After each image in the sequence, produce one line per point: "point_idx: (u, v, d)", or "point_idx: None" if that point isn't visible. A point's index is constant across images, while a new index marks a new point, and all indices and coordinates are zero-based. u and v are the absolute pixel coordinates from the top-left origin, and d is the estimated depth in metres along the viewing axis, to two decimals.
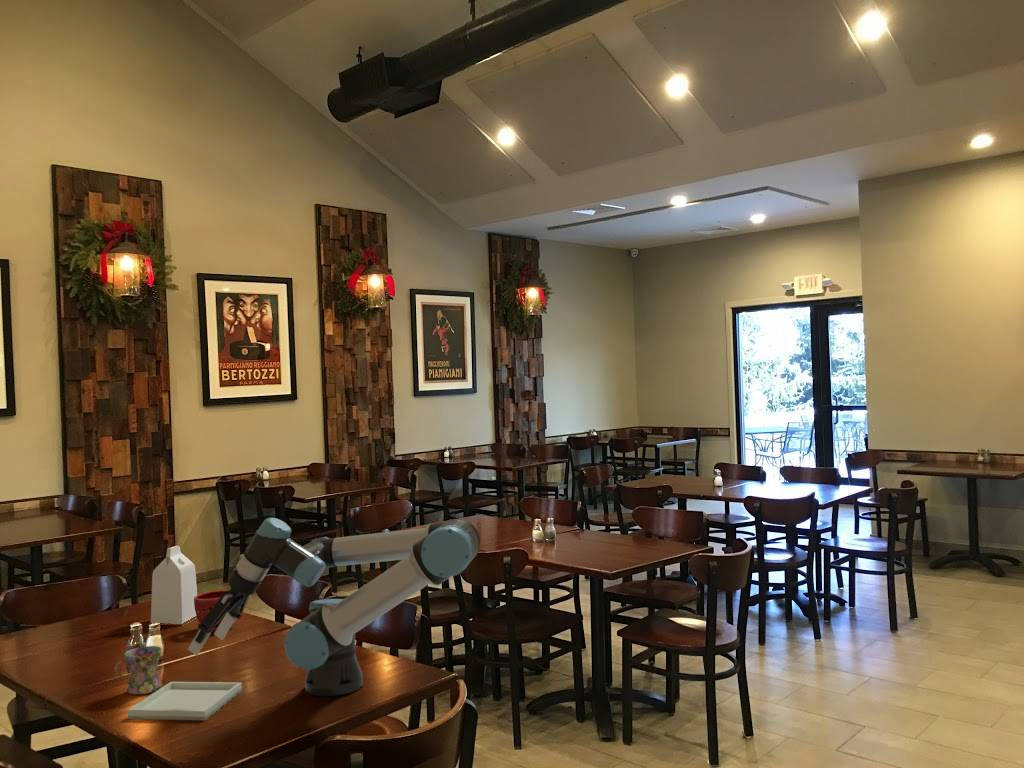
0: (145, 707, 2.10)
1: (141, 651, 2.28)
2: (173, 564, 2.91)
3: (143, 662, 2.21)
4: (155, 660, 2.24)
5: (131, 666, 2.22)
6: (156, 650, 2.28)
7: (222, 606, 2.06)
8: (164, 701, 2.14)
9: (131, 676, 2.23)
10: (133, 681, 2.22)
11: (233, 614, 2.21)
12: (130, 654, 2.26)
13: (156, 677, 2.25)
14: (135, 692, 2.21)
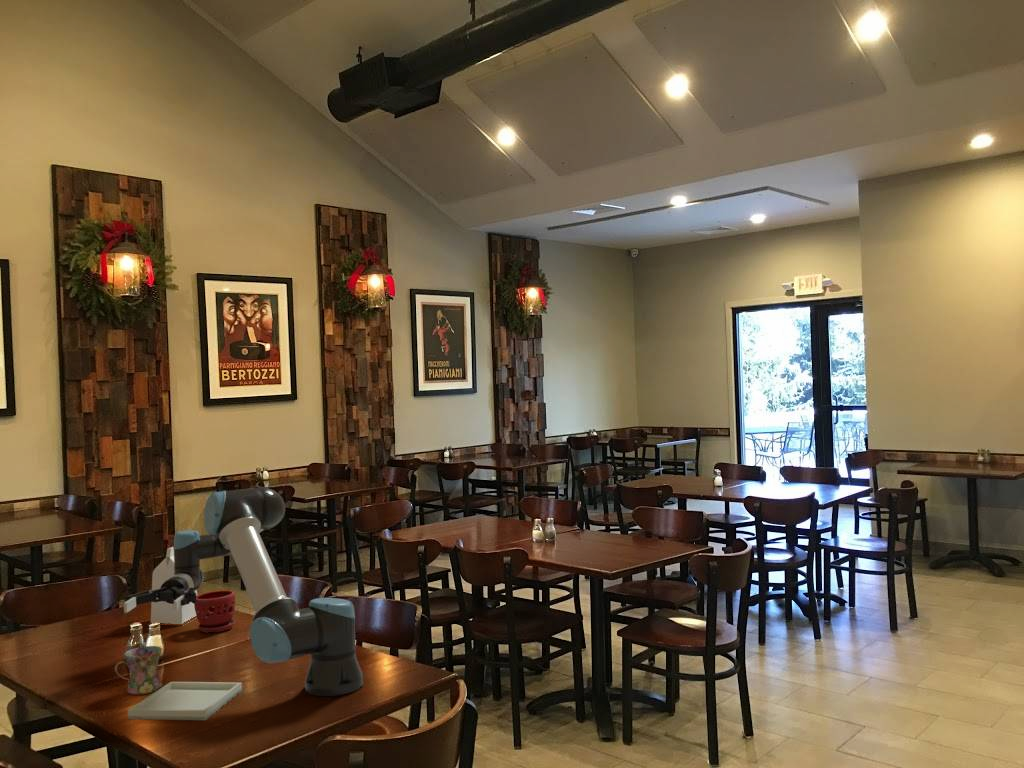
0: (145, 707, 2.10)
1: (142, 651, 2.28)
2: (173, 564, 2.91)
3: (143, 662, 2.21)
4: (155, 660, 2.24)
5: (131, 666, 2.22)
6: (156, 650, 2.28)
7: None
8: (164, 701, 2.14)
9: (131, 676, 2.23)
10: (133, 681, 2.22)
11: None
12: (130, 654, 2.26)
13: (156, 677, 2.25)
14: (135, 692, 2.21)
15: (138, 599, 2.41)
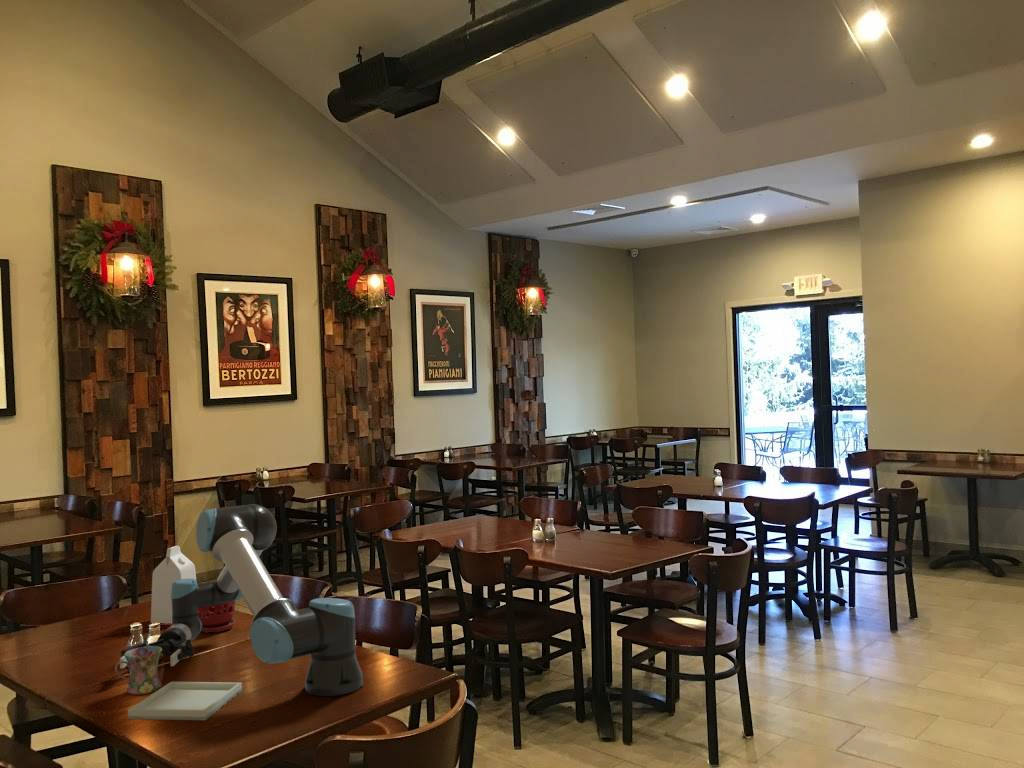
0: (145, 707, 2.10)
1: (141, 651, 2.28)
2: (173, 564, 2.91)
3: (143, 662, 2.21)
4: (155, 660, 2.24)
5: (131, 666, 2.22)
6: (156, 650, 2.28)
7: None
8: (164, 701, 2.14)
9: (131, 676, 2.23)
10: (133, 681, 2.22)
11: None
12: (130, 654, 2.26)
13: (156, 677, 2.25)
14: (135, 692, 2.21)
15: None
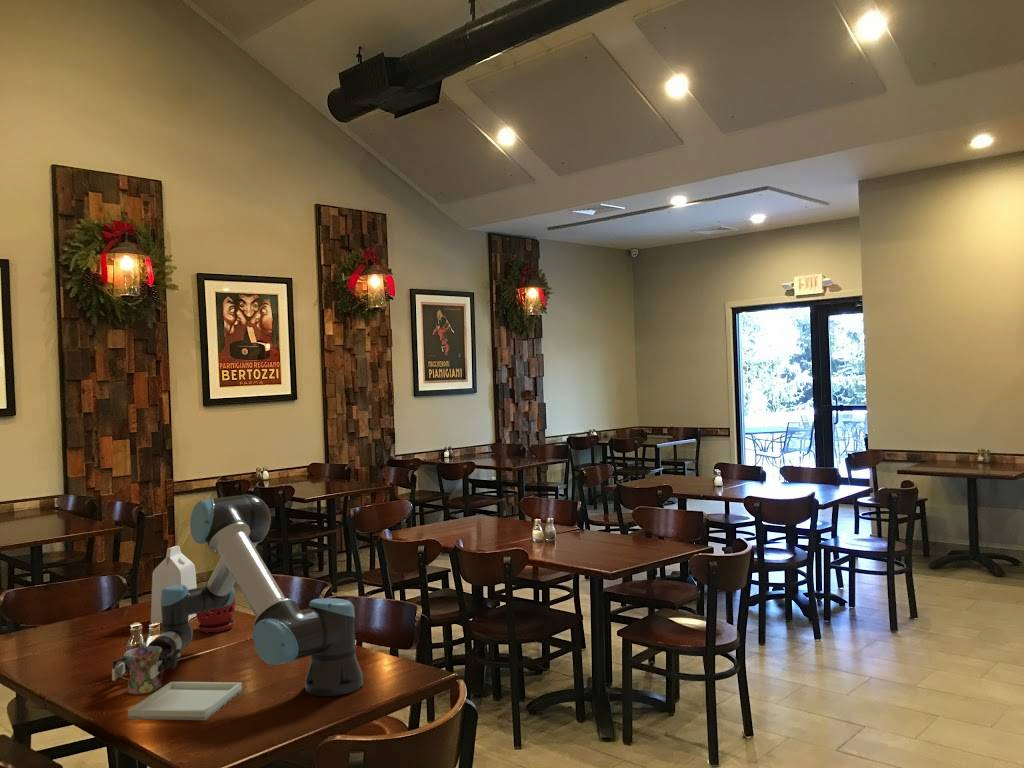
0: (145, 707, 2.10)
1: (141, 651, 2.28)
2: (173, 564, 2.91)
3: (143, 662, 2.21)
4: (155, 660, 2.24)
5: (131, 666, 2.22)
6: (156, 650, 2.28)
7: None
8: (164, 701, 2.14)
9: (131, 676, 2.23)
10: (133, 681, 2.22)
11: None
12: (130, 654, 2.26)
13: (156, 677, 2.25)
14: (135, 692, 2.21)
15: None
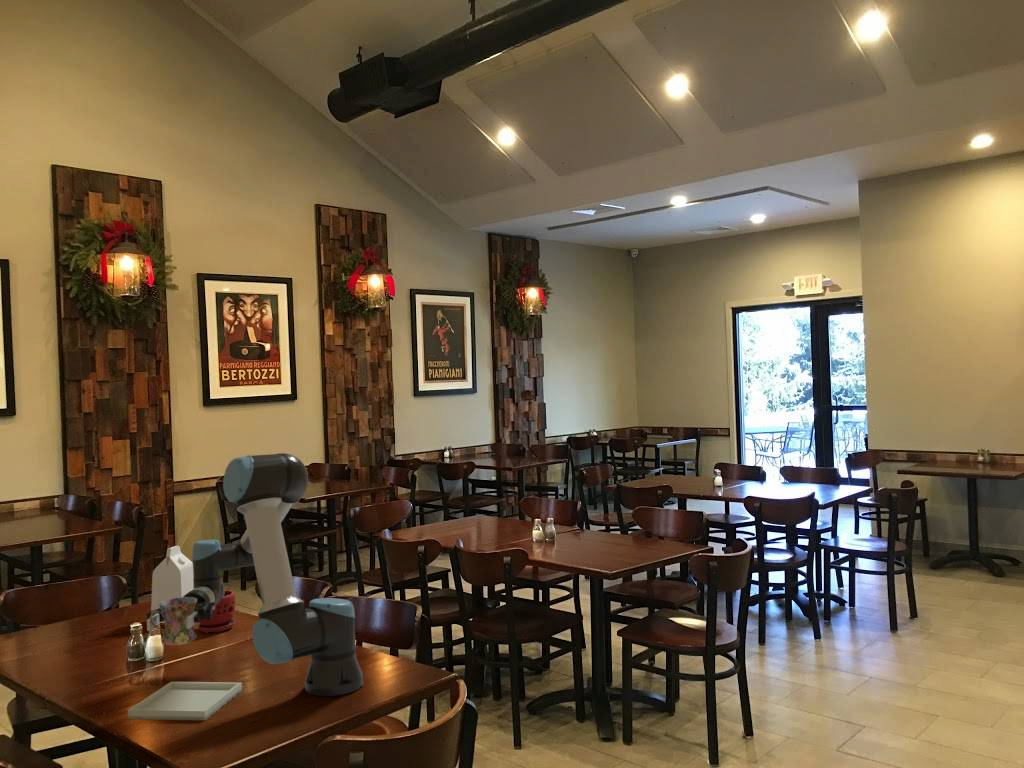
0: (145, 707, 2.10)
1: (176, 602, 2.21)
2: (173, 564, 2.91)
3: (179, 612, 2.14)
4: (191, 610, 2.16)
5: (166, 616, 2.14)
6: (191, 601, 2.21)
7: None
8: (164, 701, 2.14)
9: (166, 627, 2.15)
10: (169, 631, 2.14)
11: None
12: (164, 605, 2.18)
13: (192, 628, 2.17)
14: (171, 643, 2.13)
15: (161, 615, 2.20)
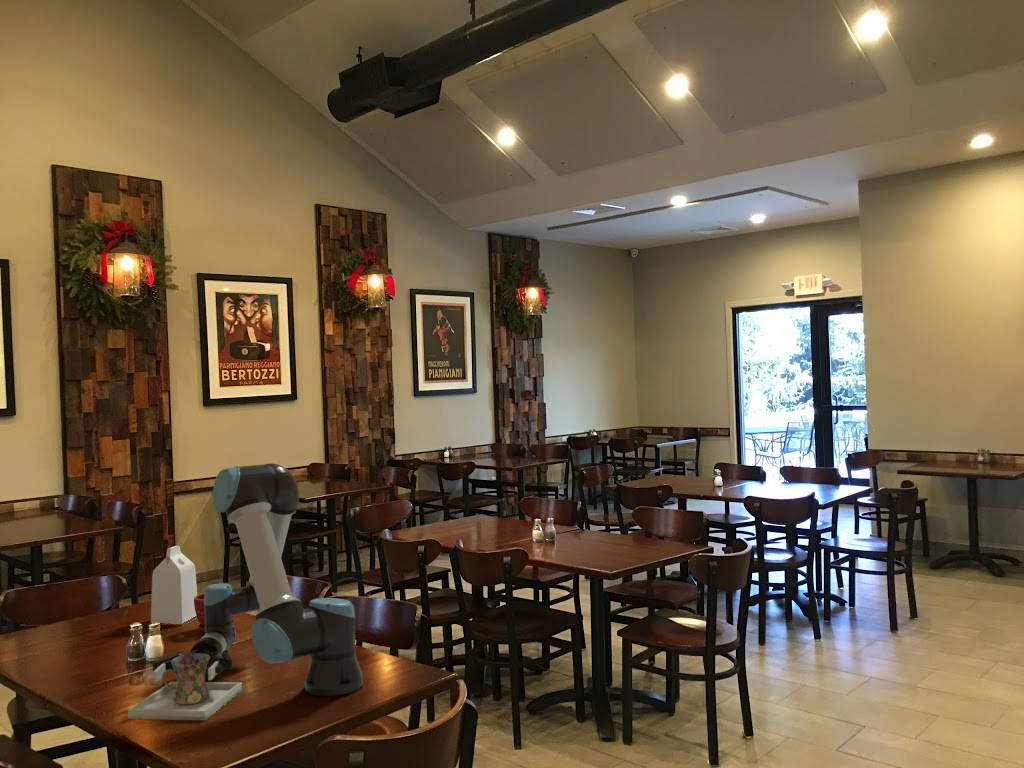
0: (145, 707, 2.10)
1: (188, 658, 2.18)
2: (173, 564, 2.91)
3: (191, 671, 2.11)
4: (203, 668, 2.13)
5: (179, 674, 2.11)
6: (203, 657, 2.18)
7: None
8: (164, 701, 2.14)
9: (178, 685, 2.12)
10: (181, 690, 2.11)
11: None
12: (176, 662, 2.15)
13: (204, 686, 2.14)
14: (183, 702, 2.10)
15: (168, 665, 2.18)
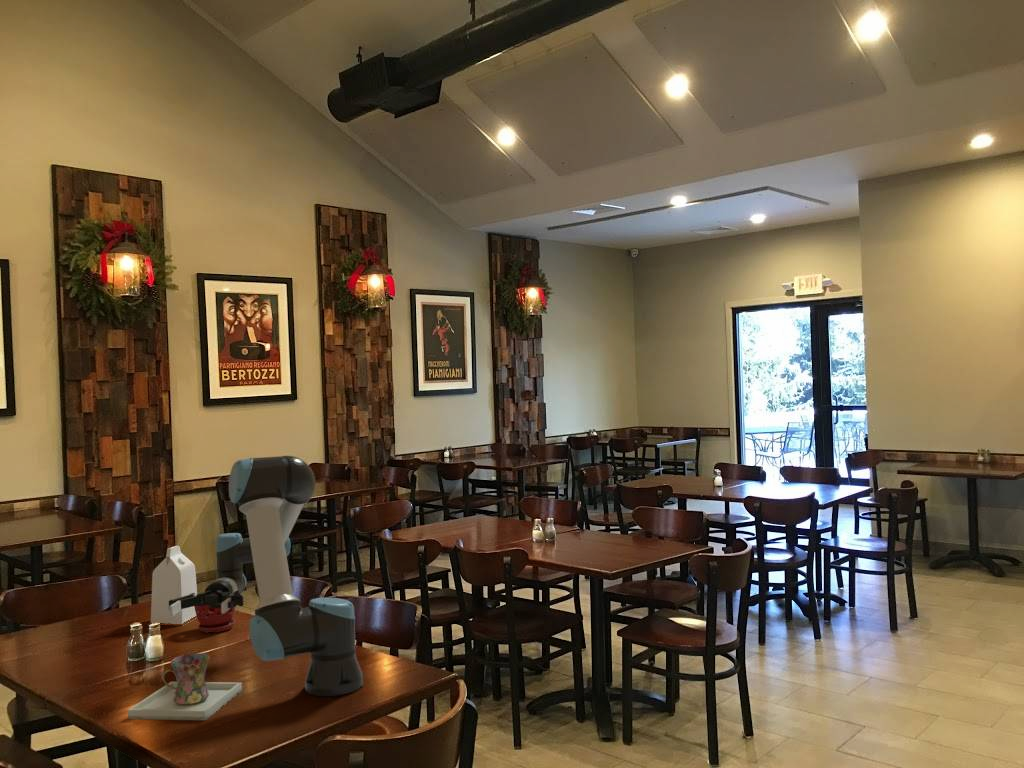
0: (145, 707, 2.10)
1: (187, 658, 2.18)
2: (173, 564, 2.91)
3: (191, 671, 2.11)
4: (203, 668, 2.13)
5: (178, 675, 2.11)
6: (203, 657, 2.18)
7: None
8: (164, 701, 2.14)
9: (178, 685, 2.12)
10: (181, 690, 2.11)
11: None
12: (176, 662, 2.15)
13: (204, 686, 2.14)
14: (183, 702, 2.10)
15: (183, 603, 2.32)
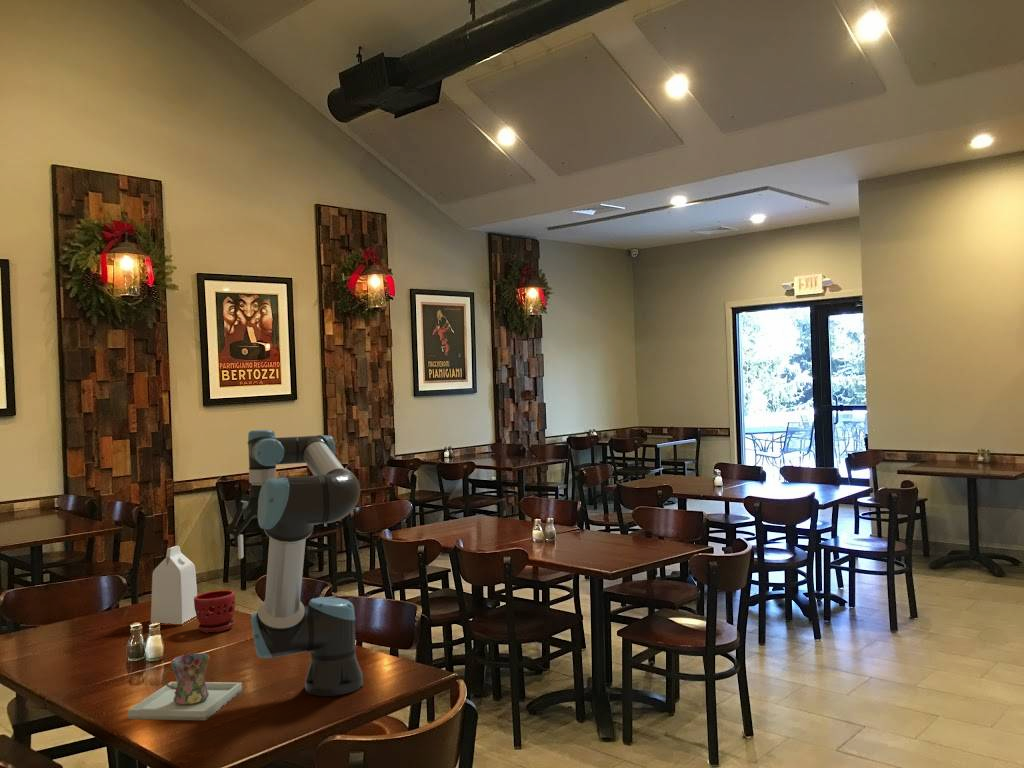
0: (145, 707, 2.10)
1: (187, 658, 2.18)
2: (173, 564, 2.91)
3: (191, 671, 2.11)
4: (203, 668, 2.13)
5: (178, 675, 2.11)
6: (203, 657, 2.18)
7: None
8: (164, 701, 2.14)
9: (178, 685, 2.12)
10: (181, 690, 2.11)
11: None
12: (176, 662, 2.15)
13: (204, 686, 2.14)
14: (183, 702, 2.10)
15: (241, 530, 2.41)
